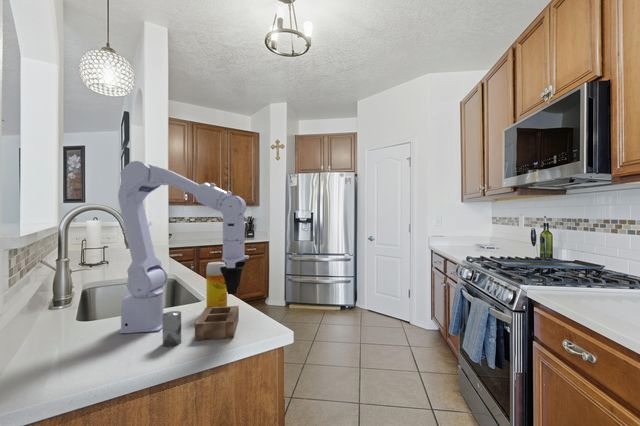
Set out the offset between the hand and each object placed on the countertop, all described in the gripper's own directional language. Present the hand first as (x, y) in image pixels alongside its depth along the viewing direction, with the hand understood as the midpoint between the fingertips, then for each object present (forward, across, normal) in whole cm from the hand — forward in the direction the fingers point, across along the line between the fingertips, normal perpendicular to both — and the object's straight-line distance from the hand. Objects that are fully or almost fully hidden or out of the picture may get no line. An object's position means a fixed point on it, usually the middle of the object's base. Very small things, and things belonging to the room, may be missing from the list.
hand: (233, 290), depth 83 cm
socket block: (+10, -2, +4) cm, 11 cm away
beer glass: (+10, +14, +6) cm, 19 cm away
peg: (+10, -9, +13) cm, 19 cm away
